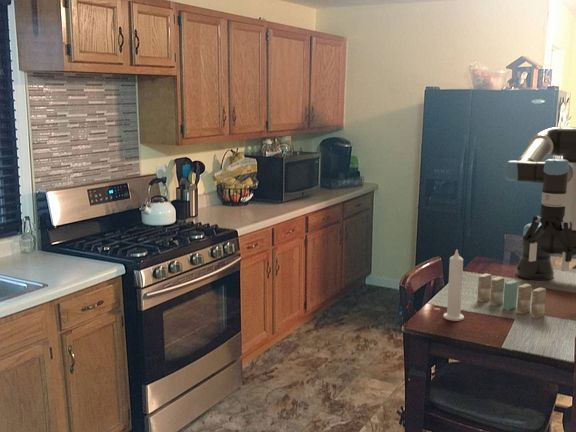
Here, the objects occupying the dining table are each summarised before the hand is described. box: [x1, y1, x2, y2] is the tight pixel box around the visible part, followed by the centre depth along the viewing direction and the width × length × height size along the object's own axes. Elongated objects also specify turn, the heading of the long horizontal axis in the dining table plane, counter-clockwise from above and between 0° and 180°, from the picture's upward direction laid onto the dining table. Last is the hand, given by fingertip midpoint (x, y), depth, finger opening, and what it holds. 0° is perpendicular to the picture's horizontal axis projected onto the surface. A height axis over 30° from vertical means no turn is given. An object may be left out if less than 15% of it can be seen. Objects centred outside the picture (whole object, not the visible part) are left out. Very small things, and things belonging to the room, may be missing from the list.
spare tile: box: [502, 279, 519, 311], centre depth 216 cm, size 2×5×10 cm, turn 128°
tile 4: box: [489, 276, 505, 307], centre depth 221 cm, size 2×5×10 cm, turn 128°
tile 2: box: [516, 283, 533, 315], centre depth 212 cm, size 2×5×10 cm, turn 128°
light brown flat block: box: [477, 272, 492, 303], centre depth 225 cm, size 2×5×10 cm, turn 128°
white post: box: [443, 249, 465, 322], centre depth 206 cm, size 7×7×25 cm
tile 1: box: [530, 287, 547, 320], centre depth 208 cm, size 2×5×10 cm, turn 128°
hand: (548, 265), depth 202 cm, fingers open, 13 cm apart
